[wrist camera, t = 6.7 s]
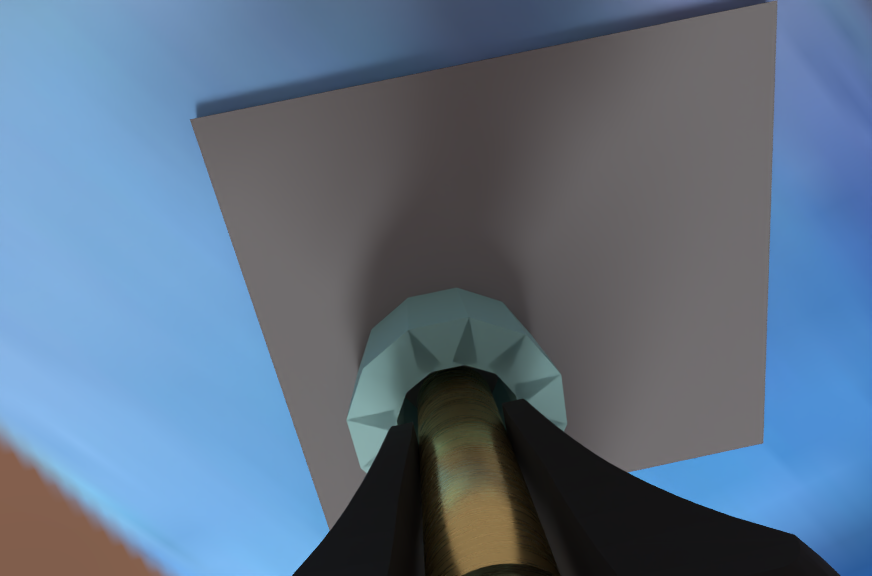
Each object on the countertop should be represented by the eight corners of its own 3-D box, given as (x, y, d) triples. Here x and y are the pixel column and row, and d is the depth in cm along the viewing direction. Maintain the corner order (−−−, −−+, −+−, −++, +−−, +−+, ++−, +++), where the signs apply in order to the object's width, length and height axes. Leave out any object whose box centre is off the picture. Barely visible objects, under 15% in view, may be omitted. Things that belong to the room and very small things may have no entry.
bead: (523, 273, 14) (551, 299, 12) (545, 430, 16) (575, 486, 13) (341, 311, 14) (324, 347, 12) (383, 464, 16) (378, 528, 13)
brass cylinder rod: (487, 358, 13) (601, 623, 5) (497, 426, 14) (610, 746, 6) (409, 372, 13) (412, 660, 5) (422, 439, 14) (442, 779, 6)
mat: (766, 5, 13) (777, 0, 13) (755, 437, 18) (763, 443, 17) (196, 120, 13) (190, 119, 12) (333, 527, 17) (331, 535, 17)
